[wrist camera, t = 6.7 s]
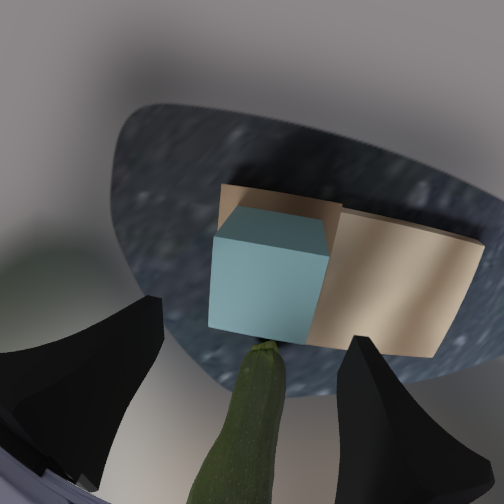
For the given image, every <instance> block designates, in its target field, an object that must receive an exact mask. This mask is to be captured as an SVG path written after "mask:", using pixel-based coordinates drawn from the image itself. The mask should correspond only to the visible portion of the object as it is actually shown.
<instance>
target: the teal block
mask: <svg viewBox="0 0 504 504" xmlns="http://www.w3.org/2000/svg"><path fill="white" fill-rule="evenodd" d="M329 257H330V256H329V251H328V246H327V241H326V236H325V231H324V226H323V221H322V220H319V219H313V218H308V217H302V216H297V215H291V214H285V213H279V212H274V211H268V210H262V209H256V208H249V207H243V206H236V208H235V209H234V210H233V212H232V213H231V214H230V215H229V217H228V218H227V219H226V221H225V222H224V223H223V225H222V226H221V227H220V229H219V230H218V231H217V233H216V234H215V235H214V240H213V254H212V268H211V284H210V301H209V320H208V327H212V328H217V329H221V330H226V331H231V332H236V333H241V334H246V335H251V336H256V337H261V338H267V339H272V340H278V341H284V342H290V343H296V344H302V345H305V342H306V339H307V336H308V333H309V329H310V326H311V323H312V319H313V316H314V312H315V309H316V306H317V302H318V298H319V295H320V291H321V288H322V284H323V280H324V276H325V273H326V269H327V265H328V261H329Z"/></svg>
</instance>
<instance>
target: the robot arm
mask: <svg viewBox="0 0 504 504" xmlns="http://www.w3.org/2000/svg"><path fill="white" fill-rule="evenodd" d="M163 341H164V325H163V309H162V299H161V298H157V297H153V296H149V295H147V296H145V297H143V298H142V299H140V300H138V301H136V302H134V303H133V304H131V305H129V306H128V307H126V308H124V309H122V310H120V311H119V312H117V313H115V314H113V315H112V316H110V317H108V318H106V319H104V320H102V321H101V322H98V323H96V324H95V325H92V326H91V327H89V328H87V329H85V330H82V331H80V332H78V333H76V334H73V335H71V336H68V337H66V338H64V339H60V340H58V341H54V342H51V343H48V344H45V345H41V346H38V347H34V348H30V349H25V350H20V351H15V352H7V353H0V504H111V503H108V502H106V501H104V500H102V499H100V498H98V497H96V496H94V495H92V494H90V493H88V492H96V491H98V490H99V486H100V482H101V478H102V474H103V471H104V467H105V464H106V461H107V457H108V455H109V452H110V449H111V446H112V443H113V441H114V438H115V435H116V433H117V430H118V428H119V425H120V423H121V421H122V418H123V416H124V413H125V411H126V409H127V407H128V405H129V404H130V402H131V400H132V398H133V397H134V395H135V393H136V392H137V390H138V388H139V387H140V385H141V383H142V381H143V380H144V378H145V377H146V375H147V373H148V372H149V370H150V368H151V367H152V365H153V363H154V362H155V360H156V358H157V355H158V353H159V351H160V348H161V346H162V344H163ZM337 408H338V421H339V435H340V464H339V476H338V484H337V492H336V498H335V504H469V503H471V502H473V501H474V500H475V499H477V498H479V497H480V496H482V495H483V494H485V493H486V492H487V491H489V490H490V489H491V488H492V486H493V485H494V483H495V479H494V475H493V471H492V467H491V464H490V461H489V460H487V459H485V458H484V457H482V456H480V455H478V454H477V453H475V452H474V451H472V450H470V449H469V448H467V447H466V446H464V445H463V444H462V443H460V442H459V441H458V440H456V439H455V438H454V437H452V436H451V435H450V434H449V433H447V432H446V431H445V430H444V429H443V428H442V427H441V426H439V425H438V424H437V423H436V422H435V421H434V420H433V419H432V418H431V417H430V416H429V415H428V414H427V413H426V412H425V411H424V410H423V409H422V408H421V406H420V405H418V403H417V402H416V401H415V400H414V399H413V397H412V396H411V395H410V394H409V392H408V391H407V390H406V389H405V387H404V386H403V385H402V383H401V382H400V381H399V379H398V378H397V377H396V375H395V374H394V372H393V371H392V370H391V368H390V367H389V365H388V364H387V362H386V361H385V359H384V358H383V356H382V355H381V353H380V352H379V350H378V349H377V348H376V346H375V345H374V343H373V342H372V340H371V339H370V338H369V337H367V336H359V335H354V336H353V338H352V340H351V343H350V345H349V348H348V350H347V352H346V355H345V357H344V359H343V362H342V364H341V366H340V368H339V370H338V374H337ZM68 481H69V482H68ZM70 482H71V483H70ZM72 483H73V484H74V485H73V484H72ZM75 485H77V486H79V487H81V488H82V489H84V490H86V491H88V492H86V491H84V490H82V489H81V488H79V487H77V486H75Z"/></svg>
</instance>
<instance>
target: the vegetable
mask: <svg viewBox="0 0 504 504" xmlns="http://www.w3.org/2000/svg"><path fill="white" fill-rule="evenodd" d="M285 392H286V368H285V364H284V361H283V359H282V357H281V356H280V355H279V351H278V348H277V345H276V342H275V341H274V340H270V341H267V342H264V343H261V344H258V345H253V346H252V348H251V351H250V352H249V353H248V354H247V355H246V356H245V357H244V359H243V361H242V364H241V367H240V370H239V374H238V377H237V380H236V383H235V387H234V390H233V394H232V397H231V401H230V405H229V409H228V413H227V416H226V420H225V423H224V425H223V428H222V430H221V433H220V435H219V436H218V438H217V440H216V441H215V443H214V445H213V446H212V448H211V449H210V451H209V453H208V455H207V457H206V458H205V460H204V462H203V464H202V466H201V469H200V471H199V473H198V475H197V477H196V479H195V481H194V483H193V485H192V488H191V490H190V493H189V497H188V500H187V503H186V504H271V501H272V499H271V498H272V487H273V480H274V463H275V453H276V446H277V439H278V432H279V424H280V420H281V415H282V411H283V406H284V400H285Z"/></svg>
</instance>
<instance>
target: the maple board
mask: <svg viewBox="0 0 504 504" xmlns="http://www.w3.org/2000/svg"><path fill="white" fill-rule="evenodd" d="M342 205H343V204H341V203H336V202H331V201H325V200H320V199H315V198H309V197H304V196H298V195H293V194H287V193H281V192H275V191H269V190H262V189H256V188H249V187H242V186H236V185H228V184H222V187H221V197H220V209H219V220H218V230H219V229H220V227H221V226H222V225H223V223H224V222H225V221H226V219H227V218H228V217H229V215H230V214H231V213H232V212H233V210H234V209H235V208H236V206H243V207H249V208H256V209H262V210H268V211H274V212H279V213H285V214H291V215H297V216H302V217H308V218H313V219H319V220H322V221H323V226H324V231H325V236H326V241H327V246H328V251H329V256H330V257H329V261H328V265H327V269H326V273H325V276H324V280H323V284H322V288H321V291H320V295H319V298H318V302H317V306H316V309H315V312H314V316H313V319H312V323H311V326H310V329H309V333H308V336H307V339H306V342H305V344H308V345H315V346H322V347H329V348H336V349H344V350H348V348H349V345H350V343H351V340H352V338H353V336H354V335H359V336H367V337H369V338H370V339H371V340H372V342H373V343H374V345H375V346H376V348H377V349H378V350H379V352H380V353H381V354H390V355H402V356H415V357H430V358H433V356H434V354H435V352H436V351H437V349H438V347H439V346H440V344H441V342H442V340H443V338H444V337H445V335H446V333H447V331H448V329H449V327H450V325H451V323H452V322H453V320H454V318H455V316H456V314H457V312H458V310H459V307H460V305H461V303H462V301H463V299H464V297H465V295H466V292H467V290H468V288H469V286H470V283H471V281H472V279H473V276H474V274H475V271H476V269H477V266H478V264H479V261H480V259H481V256H482V253H483V250H484V248H485V246H484V245H483V244H482V243H480V242H479V241H478V240H476V239H473V238H469V237H466V236H462V235H458V234H455V233H451V232H447V231H443V230H439V229H435V228H432V227H428V226H424V225H419V224H415V223H411V222H407V221H403V220H399V219H394V218H390V217H385V216H381V215H376V214H372V213H367V212H362V211H358V210H353V209H348V208H343V207H342Z"/></svg>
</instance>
